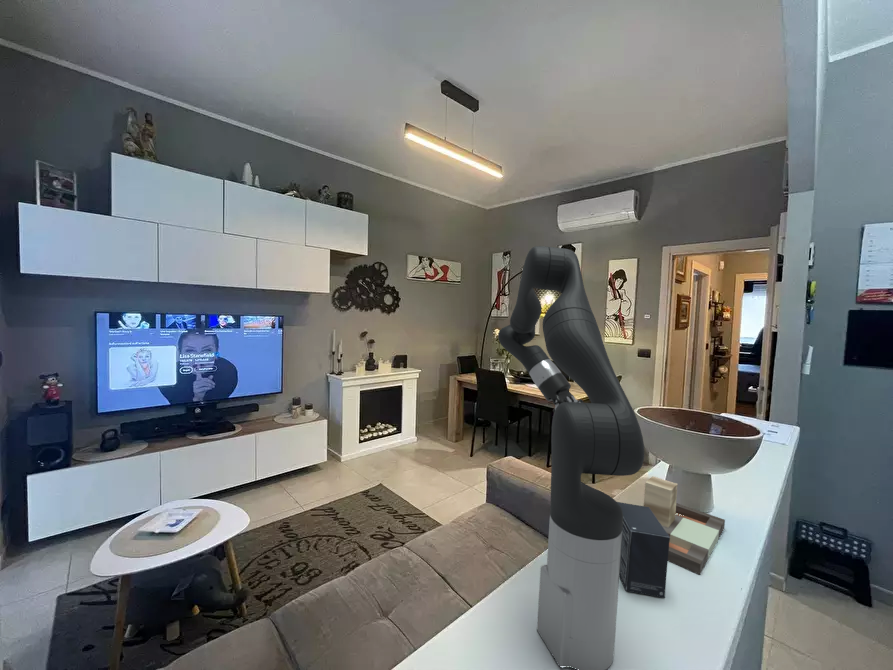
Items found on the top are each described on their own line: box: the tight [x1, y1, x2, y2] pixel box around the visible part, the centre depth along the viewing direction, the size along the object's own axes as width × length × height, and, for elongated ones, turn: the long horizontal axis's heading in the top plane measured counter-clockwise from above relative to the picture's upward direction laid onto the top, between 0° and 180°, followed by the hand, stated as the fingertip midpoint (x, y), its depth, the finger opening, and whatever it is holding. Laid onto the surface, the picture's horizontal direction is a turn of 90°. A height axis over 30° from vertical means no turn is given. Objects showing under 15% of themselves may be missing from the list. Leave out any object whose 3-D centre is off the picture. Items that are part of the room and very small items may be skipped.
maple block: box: [643, 476, 679, 528], centre depth 81 cm, size 5×5×8 cm
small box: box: [616, 501, 670, 599], centre depth 65 cm, size 11×6×10 cm, turn 168°
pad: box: [670, 518, 720, 559], centre depth 76 cm, size 10×6×2 cm, turn 134°
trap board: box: [662, 502, 726, 576], centre depth 79 cm, size 23×13×2 cm, turn 134°
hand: (590, 435), depth 92 cm, fingers closed
